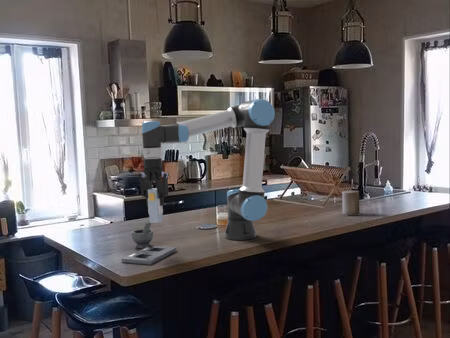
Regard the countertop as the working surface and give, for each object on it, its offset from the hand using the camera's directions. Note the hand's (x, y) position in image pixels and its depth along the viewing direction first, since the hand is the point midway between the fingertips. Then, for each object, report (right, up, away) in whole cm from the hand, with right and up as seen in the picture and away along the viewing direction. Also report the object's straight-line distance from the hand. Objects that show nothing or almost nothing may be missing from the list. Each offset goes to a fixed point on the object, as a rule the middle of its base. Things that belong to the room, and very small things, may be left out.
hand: (155, 213), depth 205 cm
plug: (0, -4, 0) cm, 4 cm away
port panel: (-2, -18, -4) cm, 18 cm away
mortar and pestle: (-7, -17, +14) cm, 23 cm away
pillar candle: (+103, -8, +78) cm, 129 cm away
